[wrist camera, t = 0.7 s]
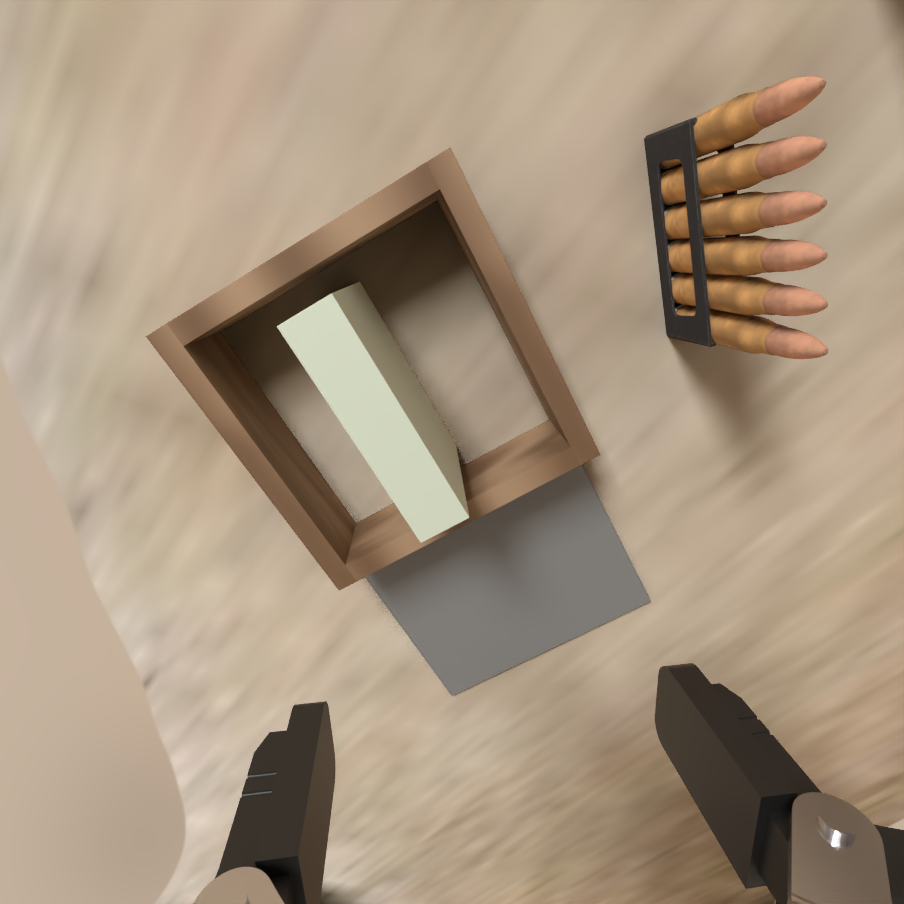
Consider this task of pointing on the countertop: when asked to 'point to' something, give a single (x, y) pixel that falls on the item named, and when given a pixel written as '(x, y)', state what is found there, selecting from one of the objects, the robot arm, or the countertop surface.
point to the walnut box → (276, 449)
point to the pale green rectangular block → (381, 407)
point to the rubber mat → (512, 583)
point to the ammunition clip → (734, 224)
